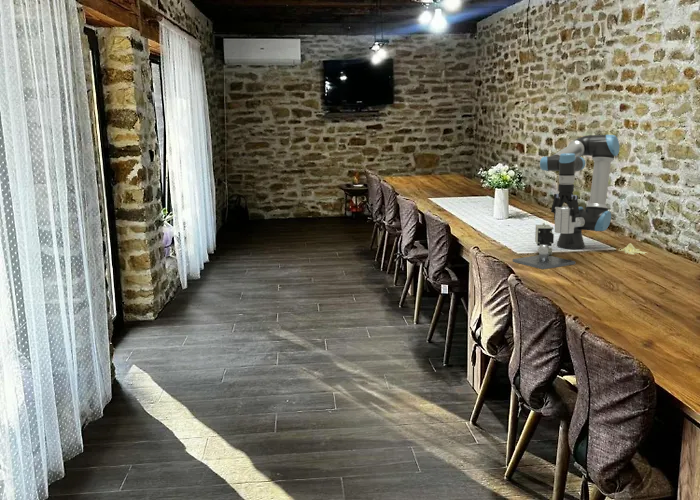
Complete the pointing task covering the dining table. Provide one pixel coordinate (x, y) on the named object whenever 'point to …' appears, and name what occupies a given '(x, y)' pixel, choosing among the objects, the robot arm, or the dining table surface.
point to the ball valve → (544, 236)
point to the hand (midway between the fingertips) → (564, 227)
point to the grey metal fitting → (565, 220)
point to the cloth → (631, 250)
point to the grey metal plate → (543, 260)
